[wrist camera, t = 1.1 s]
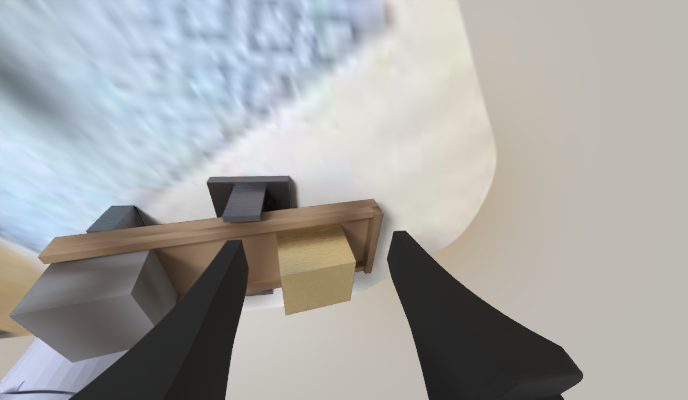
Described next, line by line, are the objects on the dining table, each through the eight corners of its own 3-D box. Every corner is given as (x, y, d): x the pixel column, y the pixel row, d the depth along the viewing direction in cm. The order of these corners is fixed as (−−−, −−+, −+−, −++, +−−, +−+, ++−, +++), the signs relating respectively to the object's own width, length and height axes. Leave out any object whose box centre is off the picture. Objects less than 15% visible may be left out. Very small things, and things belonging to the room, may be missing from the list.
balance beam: (111, 304, 19) (80, 368, 16) (55, 237, 15) (-6, 305, 12) (363, 256, 25) (382, 296, 21) (373, 198, 21) (398, 236, 17)
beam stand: (148, 268, 24) (123, 310, 20) (94, 178, 18) (45, 216, 14) (294, 258, 26) (294, 295, 22) (289, 176, 20) (286, 208, 17)
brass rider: (280, 271, 21) (285, 315, 18) (275, 232, 18) (280, 275, 15) (337, 261, 23) (350, 300, 19) (340, 223, 20) (355, 261, 17)
